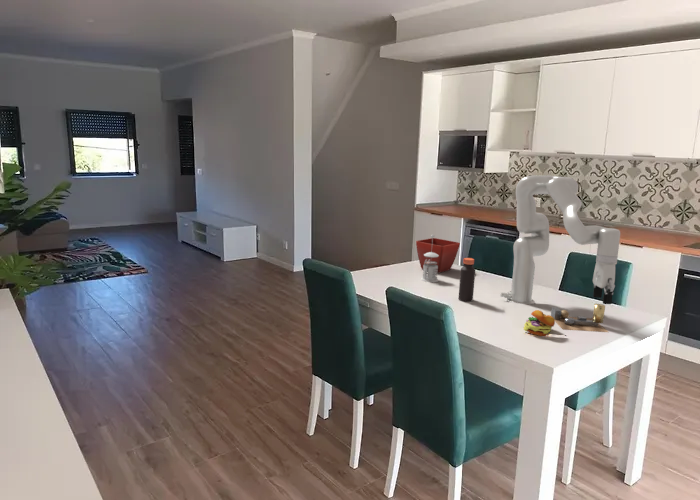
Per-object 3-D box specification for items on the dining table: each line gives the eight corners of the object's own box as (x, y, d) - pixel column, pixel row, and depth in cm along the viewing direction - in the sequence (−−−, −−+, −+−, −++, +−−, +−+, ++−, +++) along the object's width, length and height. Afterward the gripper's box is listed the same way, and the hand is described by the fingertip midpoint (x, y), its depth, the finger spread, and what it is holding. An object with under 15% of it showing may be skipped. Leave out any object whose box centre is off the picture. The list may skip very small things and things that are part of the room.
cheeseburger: (517, 327, 207) (525, 304, 205) (541, 333, 208) (549, 311, 207) (528, 336, 197) (536, 312, 195) (553, 342, 198) (561, 319, 197)
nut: (560, 319, 215) (561, 311, 215) (558, 316, 219) (559, 308, 218) (569, 320, 215) (570, 311, 214) (566, 317, 219) (567, 309, 218)
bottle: (475, 300, 243) (479, 259, 239) (468, 302, 238) (471, 261, 234) (463, 296, 248) (466, 256, 244) (455, 299, 243) (458, 258, 239)
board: (562, 332, 204) (562, 329, 203) (549, 318, 220) (549, 315, 220) (608, 335, 202) (609, 332, 202) (592, 320, 219) (592, 318, 219)
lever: (566, 325, 208) (568, 304, 206) (562, 320, 213) (564, 301, 211) (604, 327, 207) (607, 306, 205) (599, 323, 212) (601, 303, 210)
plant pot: (458, 270, 303) (460, 242, 299) (440, 275, 289) (442, 246, 286) (431, 264, 316) (433, 237, 312) (413, 268, 302) (415, 241, 299)
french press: (441, 279, 280) (444, 234, 275) (433, 283, 270) (436, 237, 265) (425, 276, 285) (428, 232, 280) (416, 280, 275) (419, 235, 270)
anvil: (554, 319, 215) (555, 310, 214) (550, 315, 220) (551, 306, 219) (560, 320, 215) (561, 310, 214) (556, 316, 220) (557, 307, 219)
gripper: (588, 254, 212) (584, 294, 215) (605, 263, 195) (601, 306, 198) (607, 255, 211) (602, 295, 214) (626, 263, 194) (620, 307, 198)
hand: (601, 300), depth 206 cm, fingers open, 9 cm apart
